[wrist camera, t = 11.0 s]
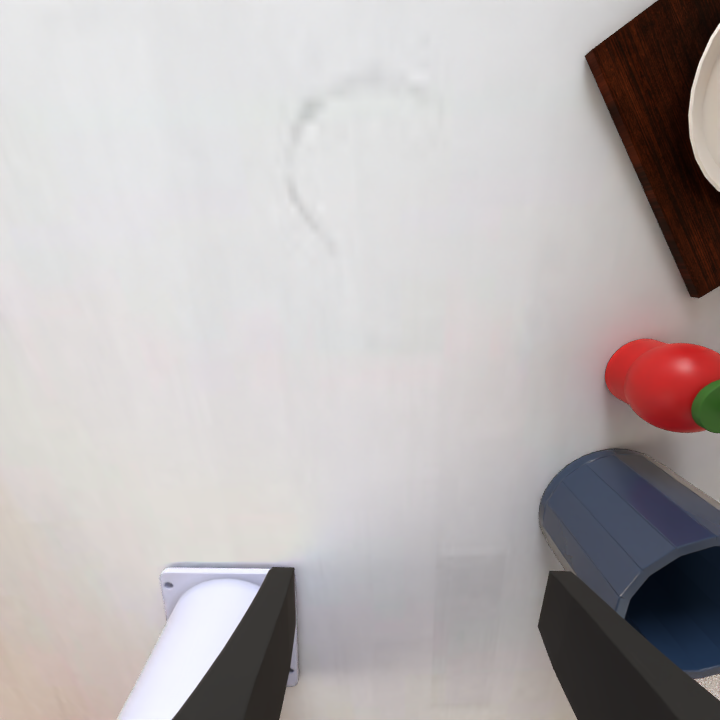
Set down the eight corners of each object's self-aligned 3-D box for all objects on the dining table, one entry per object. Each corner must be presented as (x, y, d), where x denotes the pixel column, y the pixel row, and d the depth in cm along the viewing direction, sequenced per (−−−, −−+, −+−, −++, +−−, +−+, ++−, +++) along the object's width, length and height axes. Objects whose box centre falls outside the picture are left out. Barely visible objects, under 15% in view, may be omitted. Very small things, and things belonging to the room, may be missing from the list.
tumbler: (652, 560, 22) (768, 680, 16) (529, 559, 22) (596, 678, 16) (686, 449, 20) (834, 537, 14) (550, 447, 20) (637, 534, 14)
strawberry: (665, 406, 19) (781, 464, 14) (591, 405, 19) (679, 462, 14) (686, 333, 18) (819, 365, 13) (607, 331, 18) (709, 363, 13)
